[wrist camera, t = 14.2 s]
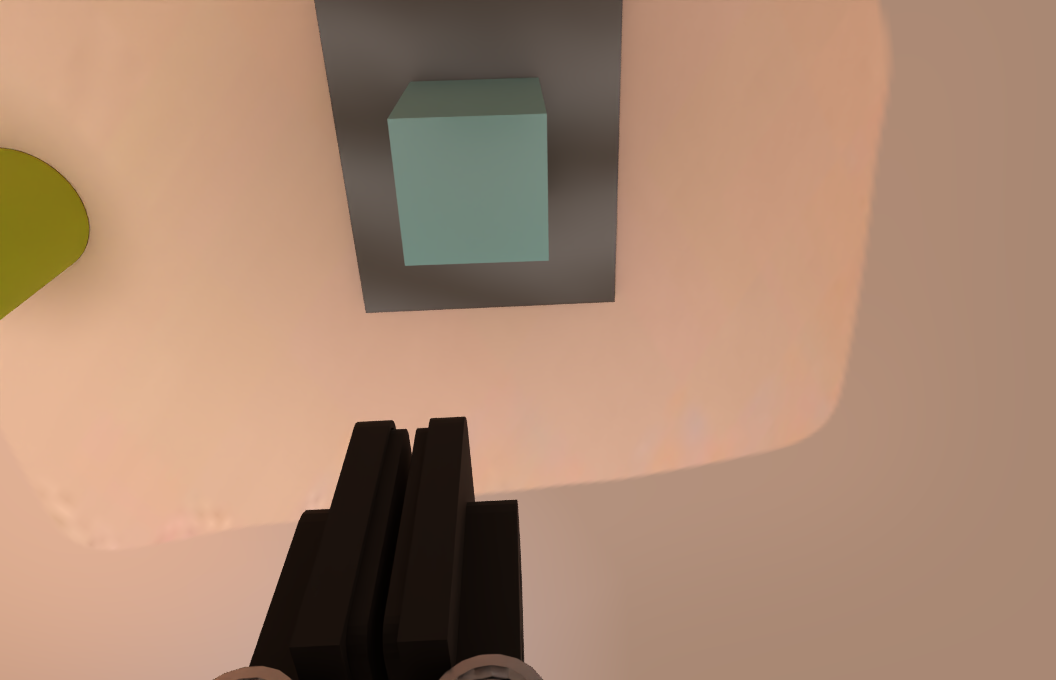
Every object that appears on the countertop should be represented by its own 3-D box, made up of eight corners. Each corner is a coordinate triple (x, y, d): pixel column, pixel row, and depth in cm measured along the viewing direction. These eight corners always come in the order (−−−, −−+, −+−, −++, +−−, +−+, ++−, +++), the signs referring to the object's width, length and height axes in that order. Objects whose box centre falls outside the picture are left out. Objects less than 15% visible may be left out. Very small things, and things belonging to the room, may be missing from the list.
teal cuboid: (410, 81, 29) (387, 119, 24) (538, 77, 29) (547, 113, 24) (422, 205, 32) (405, 265, 26) (540, 200, 32) (548, 260, 26)
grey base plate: (306, -69, 27) (250, -68, 21) (622, -82, 28) (655, -84, 21) (368, 307, 35) (339, 385, 29) (613, 296, 35) (635, 372, 29)
